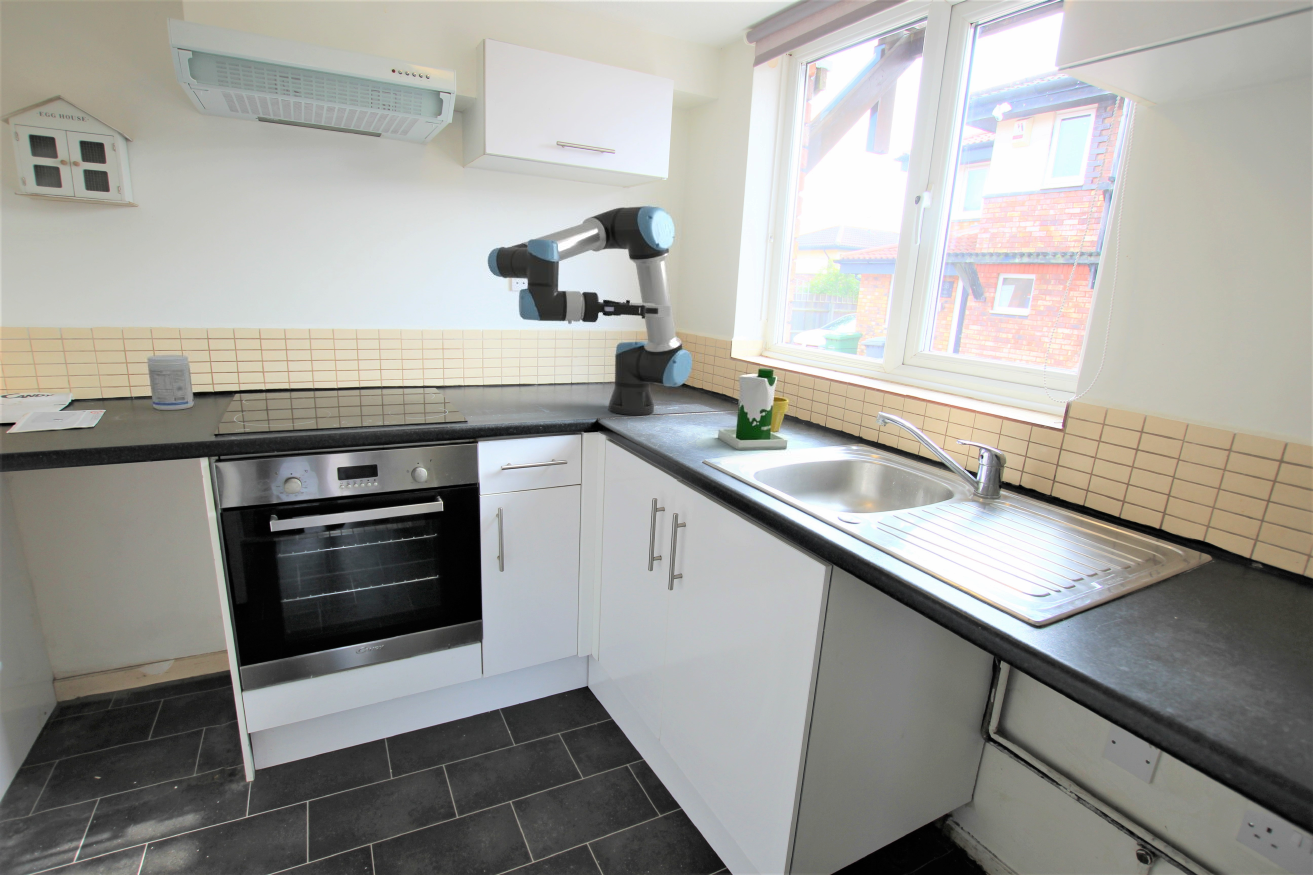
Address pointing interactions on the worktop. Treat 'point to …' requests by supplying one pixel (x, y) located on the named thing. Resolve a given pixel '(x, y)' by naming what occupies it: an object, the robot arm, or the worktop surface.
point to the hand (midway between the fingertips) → (661, 310)
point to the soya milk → (755, 405)
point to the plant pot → (778, 412)
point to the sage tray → (752, 441)
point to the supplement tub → (170, 382)
